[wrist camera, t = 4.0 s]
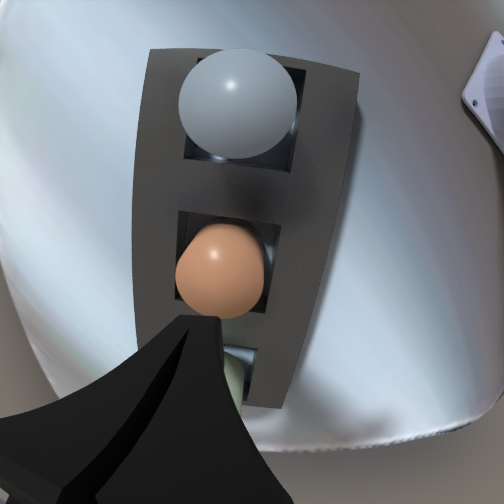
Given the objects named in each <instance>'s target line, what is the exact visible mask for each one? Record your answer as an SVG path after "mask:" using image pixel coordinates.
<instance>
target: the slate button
mask: <svg viewBox="0 0 504 504" xmlns="http://www.w3.org/2000/svg"><path fill="white" fill-rule="evenodd" d="M296 109H297V95H296V90H295V87H294V84H293V81H292V79H291V77H290V76H289V74H288V73H287V71H286V70H285V69H284V68H283V66H282V65H281V64H280V63H278V62H277V61H276V60H275V59H273V58H272V57H270V56H268V55H266V54H264V53H262V52H259V51H256V50H251V49H245V48H235V49H227V50H222V51H219V52H216V53H214V54H212V55H210V56H208V57H206V58H205V59H203V60H202V61H200V62H199V63H198V64H197V65H196V66H195V67H194V68H193V69H192V70H191V71H190V73H189V74H188V76H187V77H186V79H185V81H184V83H183V85H182V88H181V91H180V95H179V114H180V119H181V122H182V125H183V127H184V129H185V131H186V132H187V134H188V135H189V137H190V138H191V139H192V140H193V141H194V142H195V143H196V144H197V145H198V146H199V147H201V148H202V149H204V150H205V151H207V152H209V153H211V154H213V155H217V156H220V157H224V158H231V159H241V158H248V157H253V156H256V155H259V154H261V153H264V152H266V151H268V150H269V149H271V148H272V147H274V146H275V145H276V144H277V143H279V142H280V141H281V140H282V139H283V138H284V136H285V135H286V134H287V132H288V131H289V129H290V127H291V125H292V123H293V121H294V118H295V114H296Z"/></svg>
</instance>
